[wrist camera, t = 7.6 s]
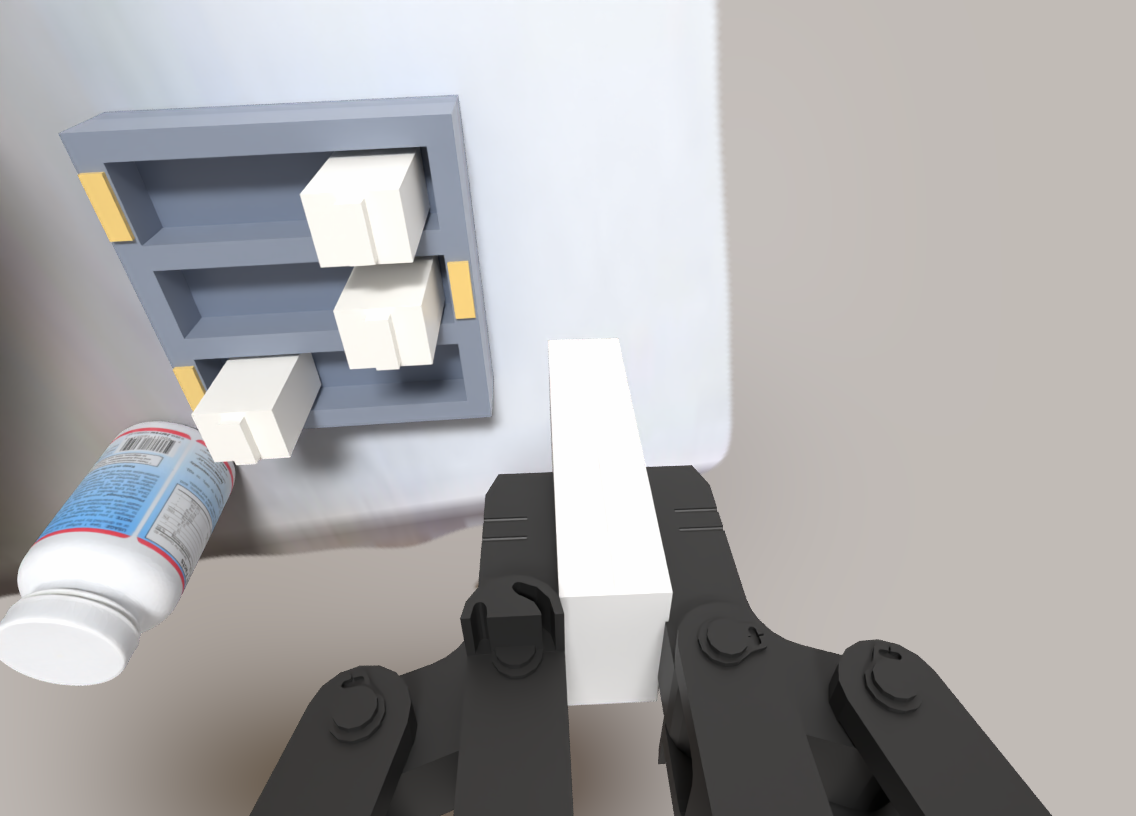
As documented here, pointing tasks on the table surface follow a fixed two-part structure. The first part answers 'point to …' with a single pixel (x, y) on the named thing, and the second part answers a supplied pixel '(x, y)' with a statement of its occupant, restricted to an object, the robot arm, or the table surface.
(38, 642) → the pill bottle
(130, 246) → the switch bank
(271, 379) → the tab
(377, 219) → the tab
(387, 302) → the tab
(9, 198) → the table surface
